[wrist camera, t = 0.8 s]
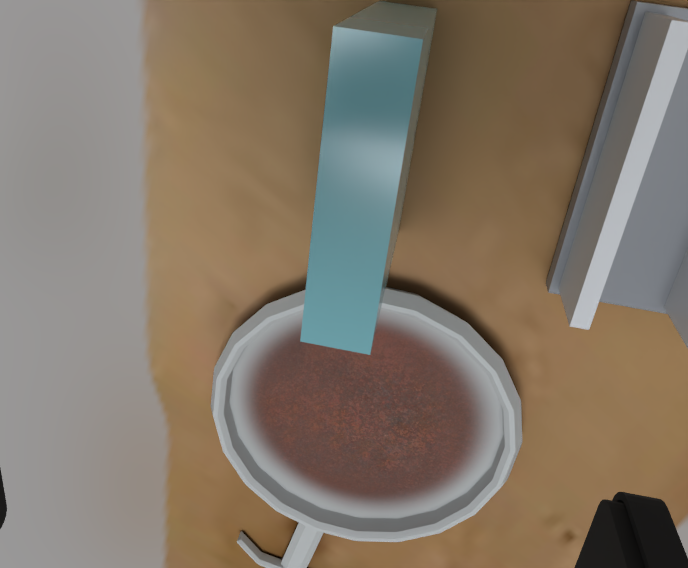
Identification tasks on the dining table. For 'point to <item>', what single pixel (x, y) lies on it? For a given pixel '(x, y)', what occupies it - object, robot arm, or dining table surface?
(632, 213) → the dish rack
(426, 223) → the dining table surface
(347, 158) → the teal upright slab
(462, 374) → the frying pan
